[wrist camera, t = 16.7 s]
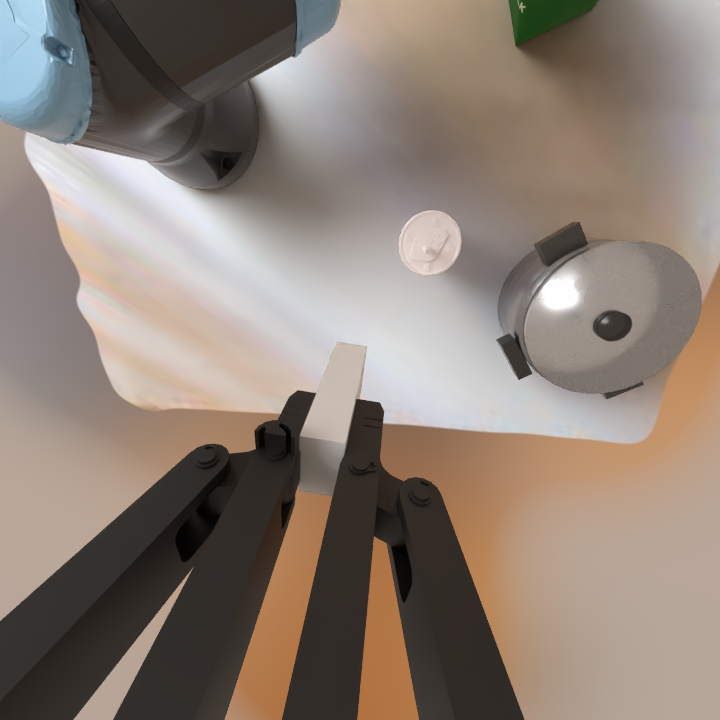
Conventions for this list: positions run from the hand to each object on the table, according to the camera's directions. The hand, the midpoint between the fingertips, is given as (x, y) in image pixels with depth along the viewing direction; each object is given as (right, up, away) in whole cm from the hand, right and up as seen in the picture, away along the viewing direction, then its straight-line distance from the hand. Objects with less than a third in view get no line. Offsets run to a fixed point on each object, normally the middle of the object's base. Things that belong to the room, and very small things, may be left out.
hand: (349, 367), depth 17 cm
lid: (+26, +4, +18) cm, 32 cm away
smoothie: (+9, +16, +26) cm, 31 cm away
